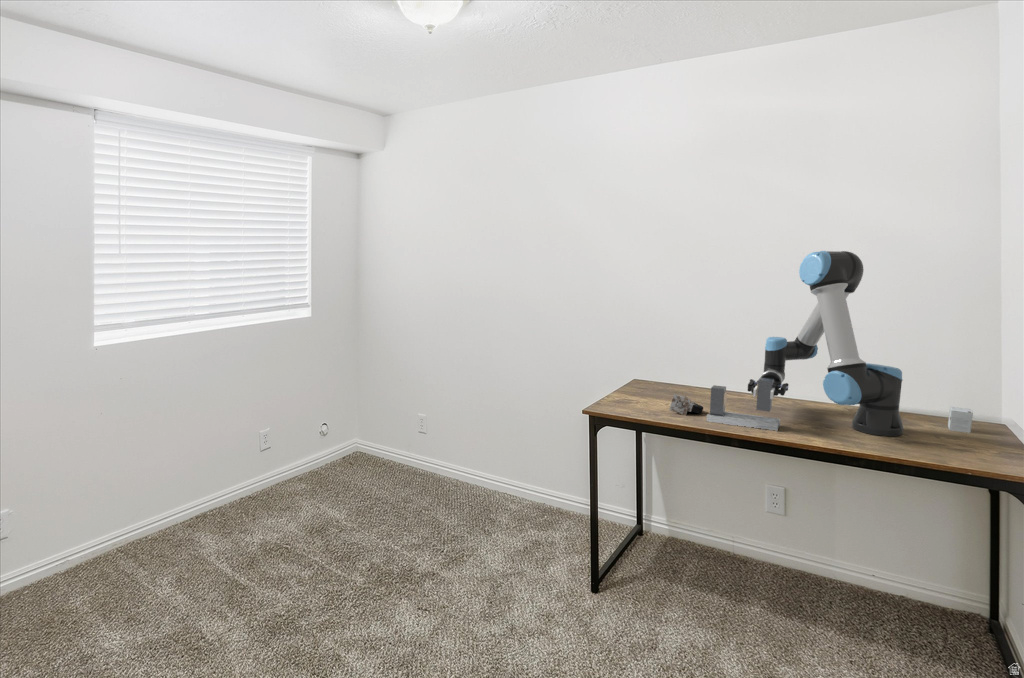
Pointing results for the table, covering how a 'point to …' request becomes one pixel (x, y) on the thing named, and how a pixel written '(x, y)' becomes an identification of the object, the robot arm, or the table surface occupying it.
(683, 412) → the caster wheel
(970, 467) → the table surface
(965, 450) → the table surface
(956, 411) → the skincare box
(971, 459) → the table surface
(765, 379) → the grey upright block
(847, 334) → the robot arm
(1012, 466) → the table surface
